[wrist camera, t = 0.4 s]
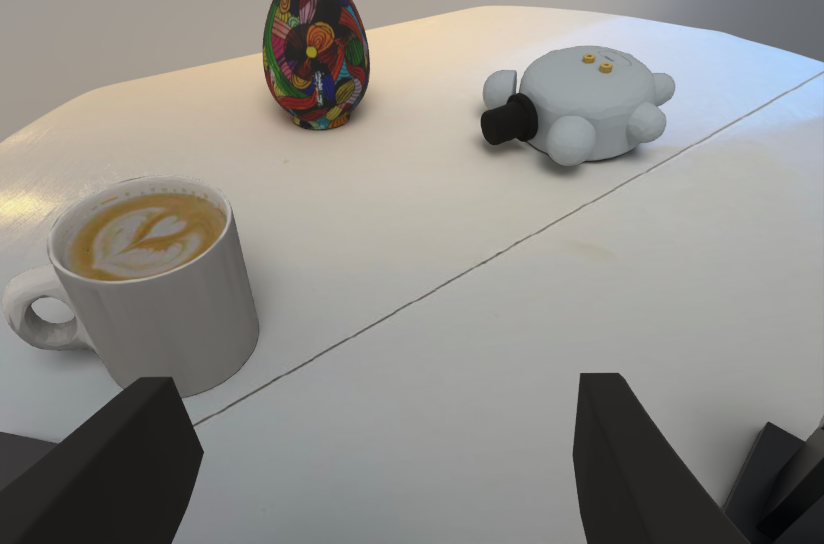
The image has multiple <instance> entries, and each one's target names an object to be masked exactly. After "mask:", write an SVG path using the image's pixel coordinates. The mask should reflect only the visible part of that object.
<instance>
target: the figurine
mask: <svg viewBox="0 0 824 544" xmlns="http://www.w3.org/2000/svg"><path fill="white" fill-rule="evenodd" d="M516 84H517V72H516V71H515V70H501V71H497V72H495V73H493V74H492V75H490V76H489V77H488V78H487V80H486V82H485V84H484V88H483V99H484V102H485V104H486V105H487V107H488V108H489V109H491V110H488V111H486V112H484V113H483V115H482V117H481V128H482V133H483V135H484V137H485V139H486V140H487V141H488V142H489V143H490V144H492V145H498V144H501V143H503V142H506V141H509V140H512V139H515V138H517V139H518V140H520V141H522V142H526V141H528V142H529V143H530V144H531V145H533V146H534V147H536V148H537V149H539V150H541V151H543V152H545V153H548V154H549V156H550V157H551V158H552V159H553V160H554V161H555V162H557V163H558V164H560V165H564V166H575V165H578V164H580V163H582V162H584V161H592V160H601V159H607V158H612V157H615V156H618V155H621V154H624V153H626V152H628V151H630V150H631V149H633V148H634V147H635V146H637V145H638V144H639V143H647V142H651V141H654V140H655V139H657V138H659V137H660V136H661V135H662V133H663V132H664V130H665V126H666V117H665V114H664V113H663V112H662V111H661V110H660V109H659V108H658V106H660V105H662V104H664V103H665V102H667V101H668V100H670V99H671V97H672V96H673V94H674V92H675V83H674V80H673V78H672V77H671V76H670V75H668V74H665V73H651V71H650V70H649V69H648V68H647V67H646V66H645V65H644V64H643V63H642V62H640V61H639V60H637V59H636V58H634V57H633V56H632V55H630V54H628V53H624V52H621V51H617V50H614V49H611V48H607V47H600V46H576V47H571V48H566V49H561V50H554V51H551V52H549V53H547V54H546V55H543V56H542V57H540V58H538V59H537V60H535V61H534V62H533V63H532V64H531V65H530V66H529V67H528V68H527V69H526V71H525V72H524V75H523V77H522V79H521V84H520V89H519V93H517V94H516Z"/></svg>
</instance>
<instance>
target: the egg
mask: <svg viewBox="0 0 824 544" xmlns="http://www.w3.org/2000/svg"><path fill="white" fill-rule="evenodd" d="M263 65H264V72H265V77H266V81H267V84H268V87H269V89H270V91H271V93H272V95H273V97H274V98H275V100H276V101H277V102H278V103H279V105H280V106H281V107H282V108H283V109H285V110H286V111H287V112H288V113H290V114H291V119H292V120H293V122H294V123H295V124H298V125H300V126H301V127H305V129H307V128H310V129H314V130H315V129H327V128H331V127H337V126H339V125H342V124H344V123H345V122H346V121H347V120H349V117H350V112H351V111H352V110H353V109H354V108H355V107H356V106H357V105H358V104H359V103H360V101H361V100H362V98H363V96H364V94H365V92H366V89H367V86H368V82H369V74H370V59H369V49H368V43H367V38H366V33H365V30H364V27H363V24H362V21H361V18H360V15H359V13H358V11H357V9H356V7H355V4H354V3H353V1H352V0H273V1H272V4H271V7H270V10H269V12H268V16H267V20H266V24H265V30H264V37H263Z"/></svg>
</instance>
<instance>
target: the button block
mask: <svg viewBox="0 0 824 544" xmlns="http://www.w3.org/2000/svg"><path fill="white" fill-rule="evenodd" d="M57 445H58V444H57V443H52V442H47V441H42V440H38V439H33V438H28V437H23V436H18V435H14V434H9V433H4V432H0V491H1V490H2V489H4V488H5V487H6V486H7V485H9V484H10V483H11V482H13V481H14V480H15V479H16V478H18V477H19V476H20V475H22V474H23V473H24V472H25V471H27V470H28V469H29V468H30V467H32V466H33V465H34V464H35V463H36V462H38V461H39V460H40V459H41V458H42V457H44V456H45V455H46V454H47V453H49V452H50V451H51V450H52V449H53V448H55V447H56V446H57Z"/></svg>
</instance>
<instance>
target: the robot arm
mask: <svg viewBox="0 0 824 544" xmlns="http://www.w3.org/2000/svg"><path fill="white" fill-rule="evenodd" d="M203 454H204V451H203V449H202V447H201V444H200V442H199V439H198V437H197V435H196V432H195V430H194V428H193V425H192V423H191V420H190V418H189V416H188V413H187V411H186V409H185V406H184V404H183V401H182V399H181V397H180V394H179V392H178V390H177V387H176V385H175V382H174V380H173V378H172V377H140V378H138V379H137V380H136V381H134V382H133V383H132V384H131V385H129V386H128V387H127V388H125V389H124V390H123V391H122V392H120V393H119V394H118V395H117V396H116V397H114V398H113V399H112V400H111V401H110V402H108V403H107V404H106V405H105V406H104V407H102V408H101V409H100V410H99V411H98V412H96V413H95V414H94V415H93V416H92V417H90V418H89V419H88V420H87V421H86V422H85V423H83V424H82V425H81V426H80V427H79V428H77V429H76V430H75V431H74V432H73V433H71V434H70V435H69V436H68V437H67V438H65V439H64V440H63V441H62V442H61V443H59V444H58V445H57V446H56V447H55V448H53V449H52V450H51V451H50V452H49V453H47V454H46V455H45V456H44V457H42V458H41V459H40V460H39V461H38V462H36V463H35V464H34V465H33V466H32V467H30V468H29V469H28V470H27V471H25V472H24V473H23V474H22V475H20V476H19V477H18V478H16V479H15V480H14V481H13V482H11V483H10V484H9V485H7V486H6V487H5V488H4V489H2V490H1V491H0V544H171V543H172V541H173V539H174V537H175V534H176V532H177V530H178V527H179V525H180V523H181V521H182V518H183V516H184V514H185V511H186V509H187V507H188V504H189V500H190V497H191V494H192V491H193V488H194V485H195V482H196V478H197V475H198V471H199V468H200V464H201V461H202V457H203ZM573 462H574V470H575V478H576V486H577V493H578V500H579V508H580V514H581V519H582V523H583V527H584V531H585V535H586V540H587V544H751V543H750V542H749V541H748V540H747V539H746V537H745V536H744V535H743V534H742V533H741V532H740V530H739V529H738V528H737V527H736V526H735V525H734V524H733V522H732V521H731V520H730V519H729V518H728V517H727V516H726V514H725V513H724V512H723V511H722V510H721V508H720V507H719V506H718V505H717V504H716V502H715V501H714V500H713V499H712V498H711V496H710V495H709V494H708V493H707V492H706V490H705V489H704V488H703V487H702V485H701V484H700V483H699V482H698V480H697V479H696V478H695V476H694V475H693V474H692V473H691V471H690V470H689V469H688V468H687V466H686V465H685V464H684V463H683V461H682V460H681V459H680V457H679V456H678V455H677V454H676V452H675V451H674V450H673V448H672V447H671V446H670V444H669V443H668V442H667V440H666V439H665V437H664V436H663V435H662V433H661V432H660V430H659V429H658V428H657V426H656V425H655V424H654V422H653V421H652V419H651V418H650V416H649V415H648V414H647V412H646V411H645V409H644V408H643V406H642V405H641V403H640V402H639V400H638V399H637V397H636V396H635V394H634V393H633V391H632V390H631V388H630V387H629V385H628V383H627V382H626V380H625V379H624V378H623V377H622V376H621V375H620V374H619V373H580V382H579V393H578V403H577V414H576V425H575V435H574V446H573Z"/></svg>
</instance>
